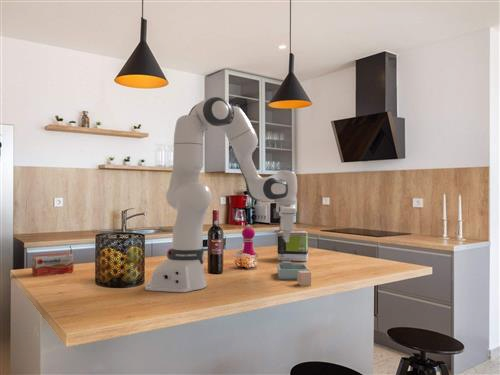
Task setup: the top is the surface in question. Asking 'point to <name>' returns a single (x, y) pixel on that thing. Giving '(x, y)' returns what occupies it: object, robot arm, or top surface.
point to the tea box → (293, 246)
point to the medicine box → (52, 264)
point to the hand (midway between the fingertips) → (285, 240)
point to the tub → (290, 271)
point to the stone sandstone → (304, 278)
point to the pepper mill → (248, 240)
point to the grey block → (286, 265)
